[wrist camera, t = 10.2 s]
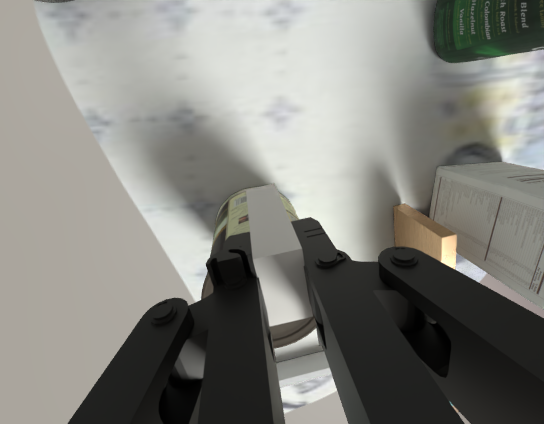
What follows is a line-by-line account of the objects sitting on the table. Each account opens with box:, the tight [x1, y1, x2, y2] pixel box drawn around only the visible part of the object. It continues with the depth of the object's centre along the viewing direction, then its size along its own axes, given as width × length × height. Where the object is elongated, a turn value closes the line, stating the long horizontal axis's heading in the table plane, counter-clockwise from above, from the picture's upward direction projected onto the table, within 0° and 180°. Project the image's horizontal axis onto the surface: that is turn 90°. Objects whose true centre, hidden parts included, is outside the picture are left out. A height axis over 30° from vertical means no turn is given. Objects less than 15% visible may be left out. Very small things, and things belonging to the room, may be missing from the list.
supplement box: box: [429, 162, 544, 310], centre depth 28 cm, size 10×9×17 cm
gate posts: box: [393, 204, 457, 269], centre depth 34 cm, size 20×4×12 cm, turn 12°
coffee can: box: [201, 187, 316, 348], centre depth 28 cm, size 10×10×14 cm
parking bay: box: [276, 351, 332, 388], centre depth 40 cm, size 10×14×3 cm
